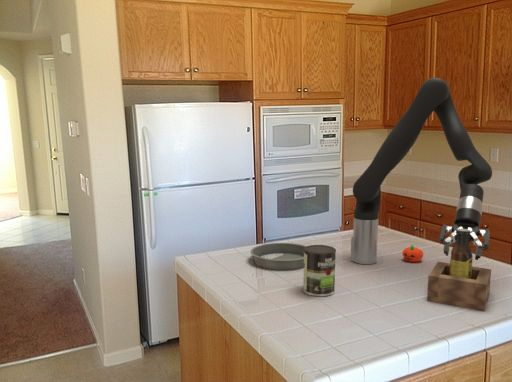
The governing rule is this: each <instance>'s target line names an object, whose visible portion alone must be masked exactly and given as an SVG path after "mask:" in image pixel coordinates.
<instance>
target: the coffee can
mask: <svg viewBox="0 0 512 382" xmlns="http://www.w3.org/2000/svg"><path fill="white" fill-rule="evenodd" d="M305 246H306V247H304V267H303V288H302V291H303V292H304V294H307V295H310V296H313V297H328V296H332V295H334V294H335V292H336V290H335V285H336V283H335V282H336V279H335V278H336V277H335V276H336V252H337V249H336V248H335V247H333V246H332V245H327V244H326V245H324V244H311V245H305Z"/></svg>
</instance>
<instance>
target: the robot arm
mask: <svg viewBox="0 0 512 382" xmlns="http://www.w3.org/2000/svg"><path fill="white" fill-rule="evenodd" d="M455 107H456V106H455V104H454V102H453V97H452V94H451V89H450V86H449V84H448V83H447V82H446V81H445V80H444V79H442V78H440V77H431V78H428V79H427V80H425V81H424V82H423V83H422V85H421V87H420V88H419V89H418V92H417V93H416V96H415V97H414V99H413V101H412V102H411V103H410V106H409V108H408V109H407V110H406V111H405V113H404V114H403V115H402V117H400V119H399V120H398V122H397V123H396V124H395V125H394V126H393V128H392V129H391V131H390V132H389V134H388V135H387V137H386V138H385V139H384V141H383V143H382V144H381V146H380V147H379V149H378V150H377V152H376V154H375V156H374V158H373V160H372V161H371V163H370V164H369V165H368V167H367V168H366V170H365V171H364V172H363V173H362V174H361V175H360V176H359V177H358V178H357V180H356V181H355V182H354V183H353V186H352V195H353V196H354V199H355V200H356V204H355V207H354V210H353V231H352V232H353V234H352V236H351V240H350V261H351V262H354V263H357V264H361V265H372V264H376V263H377V261H378V260H377V259H378V235H379V233H378V232H379V213H380V211H381V209H380V208H381V197H382V196H381V195H382V193H381V192H382V187H381V185H383V182H384V181H385V179H386V178H387V176H388V175H389V174H390V173H391V172H392V171H393V170H394V168H395V167H397V166H398V164H399V163H400V162H401V161H402V160H403V159H404V158H405V157H406V156H407V154H408V153H409V152H410V150H411V149H412V147H413V146H414V144H415V143H416V141H417V139H418V137H419V136H420V134H421V132H422V130H423V127H424V125H425V123H426V122H427V120H428V119H429V117H430V116H431V115H432V113H433V112H434V113H435V115H436V116H437V118H438V120H439V122H440V126H441V128H442V131H443V133H444V136H445V140H446V141H447V142H446V143H447V144H448V146H449V148H450V150H451V152H452V154H453V156H454V158H455V160H456V161H459V162H462V161H468V162H469V163H470V165H466V166H465V167H464V166H463V168H461V169H460V171H459V173H458V174H457V175H458V177H457V178H458V183H459V189H460V194H459V199H458V203H457V205H456V210H455V211H456V212H455V216H454V222H453V225H452V226H449V225H447V224H446V223H443V225H442V227H441V231H440V235H439V237H438V238H439V243H440V244H443V254H445V256H447V257H449V252H450V248H451V244H453V243H456V229H468V230H470V236H469V243H470V242H472V243H473V245H474V246H475V247H476V248H475V255H474V259H475V260H476V261H478V260H479V259H481V257H482V251H483V250H489V249H490V235H491V234H490V232H491V231H490V229H489V228H485V229H480V226H481V220H482V219H481V218H482V214H483V200H484V195H485V194H484V188H483V187H482V186H481V185H479V184H483V183H485V182H487V181H489V180H491V178H492V176H493V168H492V166H491V165H490V163H489V162H488V161H487V160H486V159H485V157H483V156H482V154H481V153H480V152H479V151H478V150H477V149H476V147H475V145H474V143H473V141H472V139H471V136H470V135H469V133H468V132H467V129H466V127H465V126H464V124H463V122H462V120H461V118H460V116H459V113H458V111H457V110H456V108H455ZM450 232H451V234H450V235H449V236H448V237H447V238H446V236H447V234H448V233H450ZM480 235H481V236H482V237H483V238H484V242H481V241H480V238H478V237H479V236H480Z"/></svg>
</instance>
